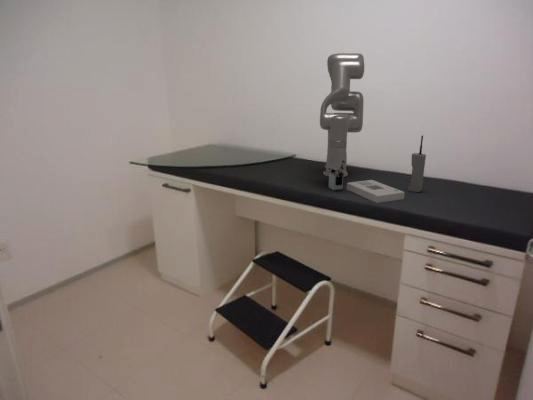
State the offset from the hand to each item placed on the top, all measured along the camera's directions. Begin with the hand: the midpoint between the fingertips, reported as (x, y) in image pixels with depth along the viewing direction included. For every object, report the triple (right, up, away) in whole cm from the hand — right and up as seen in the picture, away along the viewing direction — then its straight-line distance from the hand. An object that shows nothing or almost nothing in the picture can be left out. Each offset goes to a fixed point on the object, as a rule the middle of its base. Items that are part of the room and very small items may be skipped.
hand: (335, 183), depth 183 cm
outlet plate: (+16, -5, -8) cm, 18 cm away
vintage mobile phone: (+35, -4, -3) cm, 35 cm away
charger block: (0, -2, +1) cm, 2 cm away
